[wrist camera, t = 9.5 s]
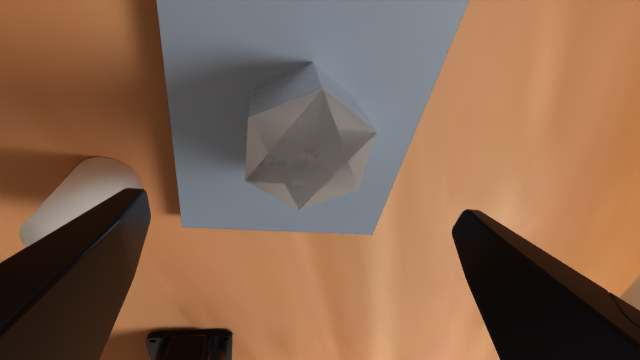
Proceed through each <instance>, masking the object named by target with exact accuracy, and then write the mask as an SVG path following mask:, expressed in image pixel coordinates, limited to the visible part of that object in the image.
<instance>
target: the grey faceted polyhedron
mask: <svg viewBox="0 0 640 360" xmlns="http://www.w3.org/2000/svg"><path fill="white" fill-rule="evenodd" d="M376 135H377V131H376V130H375V128H374V126H373V125H372V123H371V121H370V119H369V118H368V116H367V114H366V113H365V111H364V109H363V107H362V106H361V104H360V102H359V101H358V100H357V99H356V98H355V97H354V96H353V95H352V94H350V93H349V92H348V91H347V90H346V89H344V88H343V87H342V86H341V85H340V84H339V83H337V82H336V81H335V80H334V79H333V78H332V77H330V76H329V75H328V74H327V73H326V72H324V71H323V70H322V69H321V68H320V67H319V66H317V65H316V64H315V63H314V62H311V63H308V64H306V65H303V66H301V67H298V68H296V69H293V70H291V71H288V72H286V73H283V74H281V75H278V76H276V77H274V78H271V79H269V80H266V81H264V82H261V83H259V84H256V85H254V86H253V89H252V95H251V102H250V108H249V114H248V128H247V149H246V170H245V182H247V183H249V184H251V185H253V186H255V187H257V188H259V189H261V190H262V191H264V192H266V193H268V194H270V195H272V196H274V197H276V198H278V199H279V200H281V201H283V202H285V203H287V204H289V205H291V206H293V207H295V208H296V209H298V210H301V209H303V208H306V207H309V206H312V205H315V204H318V203H321V202H324V201H326V200H329V199H332V198H335V197H338V196H341V195H344V194H346V193H349V192H352V191H355V190H358V189H359V186H360V183H361V180H362V177H363V174H364V171H365V168H366V165H367V162H368V159H369V156H370V153H371V150H372V147H373V144H374V141H375V138H376Z"/></svg>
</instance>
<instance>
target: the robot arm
mask: <svg viewBox="0 0 640 360" xmlns="http://www.w3.org/2000/svg"><path fill="white" fill-rule="evenodd" d="M150 219H151V213H150V208H149V202H148V197H147V193H146V191H145V190H144V189H140V188H125V189H123V190H121V191H120V192H118V193H116V194H115V195H113V196H111V197H110V198H108V199H106V200H105V201H103V202H101V203H100V204H98V205H96V206H95V207H93V208H91V209H90V210H88V211H86V212H85V213H83V214H81V215H80V216H78V217H76V218H75V219H73V220H71V221H70V222H68V223H66V224H65V225H63V226H61V227H60V228H58V229H56V230H55V231H53V232H51V233H50V234H48V235H46V236H45V237H43V238H41V239H40V240H38V241H36V242H35V243H33V244H31V245H30V246H28V247H26V248H25V249H23V250H21V251H20V252H18V253H16V254H15V255H13V256H11V257H10V258H8V259H6V260H5V261H3V262H1V263H0V360H99V359H100V357H101V354H102V352H103V350H104V347H105V345H106V342H107V340H108V338H109V335H110V333H111V331H112V328H113V326H114V324H115V321H116V319H117V317H118V314H119V312H120V310H121V307H122V305H123V303H124V300H125V298H126V296H127V293H128V291H129V288H130V286H131V284H132V281H133V278H134V276H135V272H136V269H137V266H138V262H139V259H140V255H141V252H142V248H143V245H144V241H145V238H146V234H147V231H148V227H149V224H150ZM452 236H453V239H454V243H455V246H456V249H457V252H458V255H459V258H460V262H461V265H462V268H463V271H464V274H465V277H466V280H467V282H468V285H469V287H470V290H471V292H472V295H473V297H474V299H475V302H476V304H477V306H478V309H479V311H480V313H481V316H482V318H483V320H484V323H485V325H486V327H487V330H488V332H489V335H490V337H491V339H492V342H493V344H494V346H495V349H496V351H497V353H498V356H499V358H500V360H640V311H639V310H638V309H636V308H635V307H633V306H631V305H630V304H628V303H626V302H625V301H623V300H621V299H620V298H618V297H617V296H615V295H614V294H612V293H610V292H608V291H607V290H606V289H604V288H602V287H601V286H599V285H598V284H596V283H594V282H593V281H591V280H590V279H588V278H586V277H585V276H583V275H582V274H580V273H578V272H577V271H575V270H574V269H572V268H570V267H569V266H567V265H566V264H564V263H562V262H561V261H559V260H558V259H556V258H554V257H553V256H551V255H550V254H548V253H546V252H545V251H543V250H542V249H540V248H538V247H537V246H535V245H534V244H532V243H531V242H529V241H527V240H526V239H524V238H523V237H521V236H519V235H518V234H516V233H515V232H513V231H511V230H510V229H508V228H507V227H505V226H503V225H502V224H500V223H499V222H497V221H495V220H494V219H492V218H491V217H489V216H487V215H486V214H484V213H483V212H481V211H479V210H470V209H467V210H465V211H463V212H462V214H461V215H460V217H459V218H458V220H457V222H456V223H455V225H454V226H453V229H452ZM146 344H147V347H148V350H149V354H150V357H151V360H232V332H231V331H201V332H167V333H150V334H148V335H147V338H146Z"/></svg>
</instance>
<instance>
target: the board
mask: <svg viewBox="0 0 640 360" xmlns="http://www.w3.org/2000/svg"><path fill="white" fill-rule="evenodd" d="M156 1H157V10H158V18H159V27H160V36H161V45H162V53H163V62H164V71H165V80H166V89H167V97H168V106H169V115H170V124H171V133H172V141H173V150H174V159H175V168H176V177H177V185H178V194H179V203H180V212H181V220H182V227H186V228H211V229H237V230H262V231H288V232H314V233H339V234H365V235H373V232H374V230H375V228H376V225H377V223H378V220H379V218H380V215H381V213H382V211H383V208H384V206H385V203H386V201H387V198H388V196H389V194H390V191H391V189H392V186H393V184H394V181H395V179H396V177H397V174H398V172H399V169H400V167H401V164H402V162H403V160H404V157H405V155H406V152H407V150H408V148H409V145H410V143H411V140H412V138H413V135H414V133H415V131H416V128H417V126H418V123H419V121H420V118H421V116H422V114H423V111H424V109H425V106H426V104H427V101H428V99H429V97H430V94H431V92H432V89H433V87H434V84H435V82H436V80H437V77H438V75H439V72H440V70H441V67H442V65H443V63H444V60H445V58H446V55H447V53H448V50H449V48H450V46H451V43H452V41H453V38H454V36H455V34H456V31H457V29H458V26H459V24H460V21H461V19H462V17H463V14H464V12H465V9H466V7H467V4H468V2H469V0H156ZM311 62H314V63H315V64H316V65H317V66H319V67H320V68H321V69H322V70H323V71H324V72H326V73H327V74H328V75H329V76H330V77H332V78H333V79H334V80H335V81H336V82H337V83H339V84H340V85H341V86H342V87H343V88H344V89H346V90H347V91H348V92H349V93H350V94H352V95H353V96H354V97H355V98H356V99H357V100H358V101H359V102H360V104H361V106H362V107H363V109H364V111H365V113H366V114H367V116H368V118H369V119H370V121H371V123H372V125H373V126H374V128H375V130H376V131H377V135H376V138H375V141H374V144H373V147H372V150H371V153H370V156H369V159H368V162H367V165H366V168H365V171H364V174H363V177H362V180H361V183H360V186H359V189H358V190H355V191H352V192H349V193H346V194H344V195H341V196H338V197H335V198H332V199H329V200H326V201H324V202H321V203H318V204H315V205H312V206H309V207H306V208H303V209H301V210H298V209H296V208H295V207H293V206H291V205H289V204H287V203H285V202H283V201H281V200H279V199H278V198H276V197H274V196H272V195H270V194H268V193H266V192H264V191H262V190H261V189H259V188H257V187H255V186H253V185H251V184H249V183H247V182H245V170H246V149H247V128H248V114H249V108H250V102H251V95H252V89H253V86H254V85H256V84H259V83H261V82H264V81H266V80H269V79H271V78H274V77H276V76H278V75H281V74H283V73H286V72H288V71H291V70H293V69H296V68H298V67H301V66H303V65H306V64H308V63H311Z"/></svg>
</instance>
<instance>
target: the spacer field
mask: <svg viewBox="0 0 640 360" xmlns="http://www.w3.org/2000/svg"><path fill="white" fill-rule="evenodd" d="M125 188H140V189H143V186H142V181H141V179H140V177H139V176H138V175H137V173H136V172H135V171H134V170H133V169H131V168H130V167H129V166H127V165H126V164H124V163H122V162H120V161H117V160H114V159H110V158H105V157H94V158H89V159H86V160H84V161H82V162H81V163H80V164H79V165H78V166H77V167H76V168H75V169H74V170H73V171H72V172H71V173H70V174H69V175H68V176H67V177H66V178H65V180H64V181H63V182H62V183H61V184H60V185H59V186H58V187H57V188H56V189H55V190H54V191H53V192H52V194H51V195H50V196H49V197H48V198H47V199H46V200H45V201H44V202H43V203H42V204H41V205H40V206H39V208H38V209H37V210H36V211H35V212H34V213H33V214H32V215H31V216H30V217H29V218H28V219H27V220H26V222H25V223H24V224H23V225H22V226H21V228H20V234H19V235H20V238H21V241H22V242H23V244H24V245H25V246H26V247H28V246H30V245H31V244H33V243H35V242H36V241H38V240H40V239H41V238H43V237H45V236H46V235H48V234H50V233H51V232H53V231H55V230H56V229H58V228H60V227H61V226H63V225H65V224H66V223H68V222H70V221H71V220H73V219H75V218H76V217H78V216H80V215H81V214H83V213H85V212H86V211H88V210H90V209H91V208H93V207H95V206H96V205H98V204H100V203H101V202H103V201H105V200H106V199H108V198H110V197H111V196H113V195H115V194H116V193H118V192H120V191H121V190H123V189H125Z"/></svg>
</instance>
